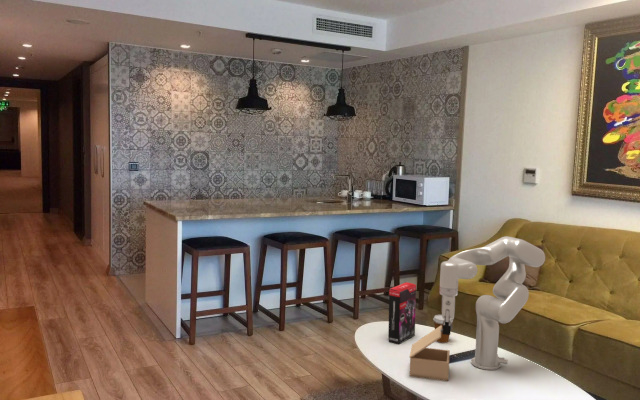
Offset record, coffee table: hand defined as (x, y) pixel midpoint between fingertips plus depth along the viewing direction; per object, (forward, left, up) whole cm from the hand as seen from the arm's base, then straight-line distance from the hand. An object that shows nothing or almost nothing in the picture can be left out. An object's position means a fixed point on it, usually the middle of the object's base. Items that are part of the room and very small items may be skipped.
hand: (446, 332), depth 234 cm
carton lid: (+5, 0, -5) cm, 7 cm away
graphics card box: (+22, -36, -19) cm, 46 cm away
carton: (+6, 0, -19) cm, 20 cm away
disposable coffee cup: (+2, -40, -19) cm, 44 cm away
